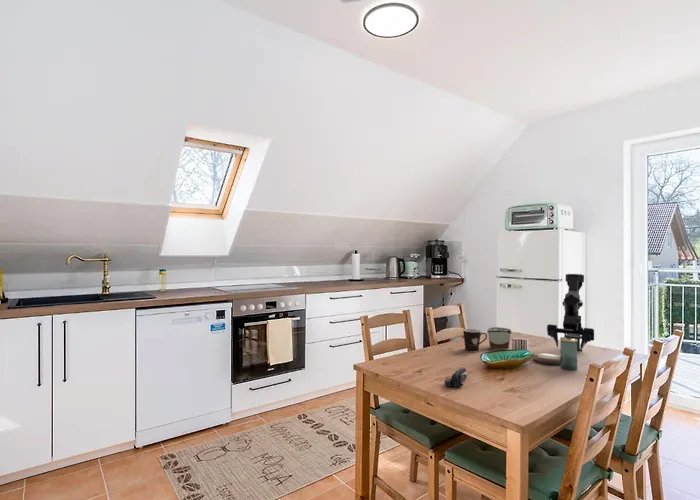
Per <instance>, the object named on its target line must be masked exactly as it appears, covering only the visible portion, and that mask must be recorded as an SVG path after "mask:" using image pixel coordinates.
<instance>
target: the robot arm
mask: <svg viewBox="0 0 700 500" xmlns="http://www.w3.org/2000/svg"><path fill="white" fill-rule="evenodd" d="M565 282H566V285H567V286H568V292H566V293H565V294H564V295H565V296H564V298H563V299H562V306H563V308H564V309H563V310H564V315H563V322H562V327H563V328H560V327H558V325H557V324H547V326H546V331H547V333H546V334H547V336H548V337H549V336H550V338H551V339H553V340H554V342H555V345H556V347H557V348H558V347H559V339H558V334H564V336H563V337H571V338H576V339H578V347H577V352H583V348H584V347H585V345H586V344H588V342H590V343H591V342H592V341H595V329H594V328H592V327H583V326H582V316H581V315H579V310H580V308H582V307H583V306H584V302H583V301H582V299H581V296H580V290H581V289H582V287H583V283H585V275H584V274H582V273H581V272H580V273H576V272H575V273H574V272H569V273H567V274H565Z"/></svg>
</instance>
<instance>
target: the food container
mask: <svg viewBox="0 0 700 500" xmlns="http://www.w3.org/2000/svg"><path fill="white" fill-rule="evenodd" d="M486 334H488V344H489V349H492V348H501V349H500V350H509V348H510V340H511V334H513V333H512V330H511V329H510V328H507V327H499V326H497V327H496V326H495V327H494V326H493V327H488V329H487V331H486Z"/></svg>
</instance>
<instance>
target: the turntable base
mask: <svg viewBox="0 0 700 500" xmlns="http://www.w3.org/2000/svg"><path fill="white" fill-rule="evenodd" d="M535 361H536V362H538V363H540V364H545V365H560V363H547V362H541V361H538V360H535Z"/></svg>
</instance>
